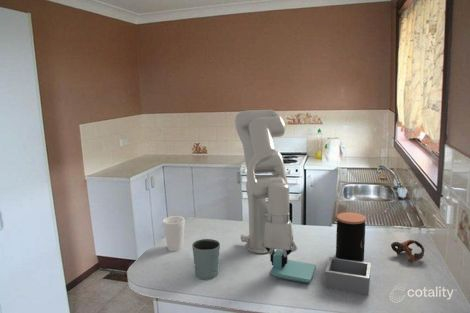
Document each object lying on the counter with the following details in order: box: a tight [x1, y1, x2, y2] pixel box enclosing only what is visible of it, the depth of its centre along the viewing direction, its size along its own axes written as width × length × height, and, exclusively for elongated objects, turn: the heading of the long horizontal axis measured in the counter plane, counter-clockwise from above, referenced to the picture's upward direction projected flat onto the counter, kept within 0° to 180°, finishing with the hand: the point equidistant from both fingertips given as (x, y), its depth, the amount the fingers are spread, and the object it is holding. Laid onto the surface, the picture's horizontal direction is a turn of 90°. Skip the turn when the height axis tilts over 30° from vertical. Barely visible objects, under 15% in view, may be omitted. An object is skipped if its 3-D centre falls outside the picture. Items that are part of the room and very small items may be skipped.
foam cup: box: [162, 215, 186, 252], centre depth 164 cm, size 10×9×13 cm
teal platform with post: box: [269, 249, 317, 283], centre depth 137 cm, size 14×11×8 cm
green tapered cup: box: [191, 238, 221, 281], centre depth 141 cm, size 10×10×12 cm
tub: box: [324, 257, 372, 296], centre depth 130 cm, size 14×11×7 cm
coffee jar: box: [335, 211, 367, 262], centre depth 148 cm, size 11×11×18 cm
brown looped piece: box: [390, 239, 425, 264], centre depth 150 cm, size 12×10×8 cm
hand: (278, 264), depth 139 cm, fingers open, 3 cm apart
